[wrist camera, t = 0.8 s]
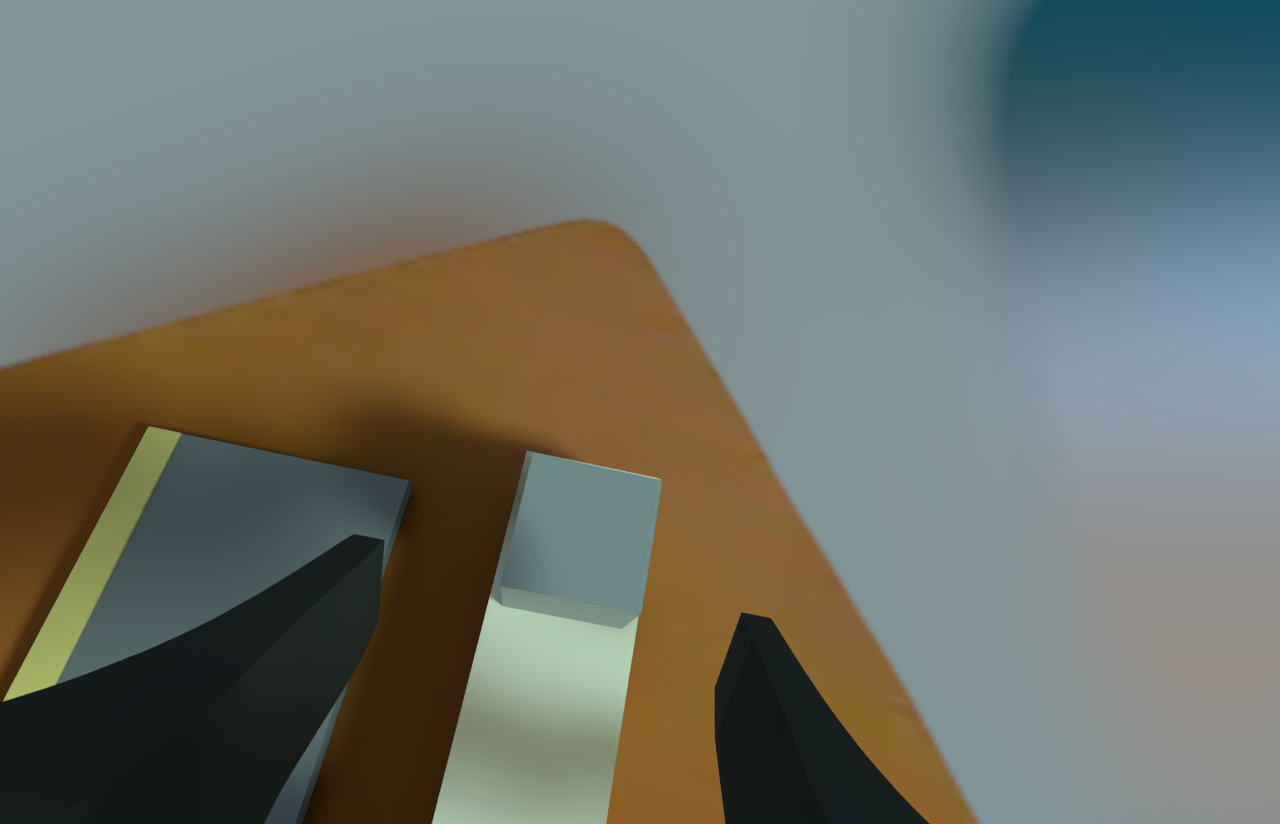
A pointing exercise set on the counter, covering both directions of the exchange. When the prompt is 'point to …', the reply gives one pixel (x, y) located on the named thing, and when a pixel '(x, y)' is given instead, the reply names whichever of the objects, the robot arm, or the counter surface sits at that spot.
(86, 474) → the counter surface
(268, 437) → the counter surface
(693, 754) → the counter surface
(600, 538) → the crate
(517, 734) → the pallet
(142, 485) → the dock
